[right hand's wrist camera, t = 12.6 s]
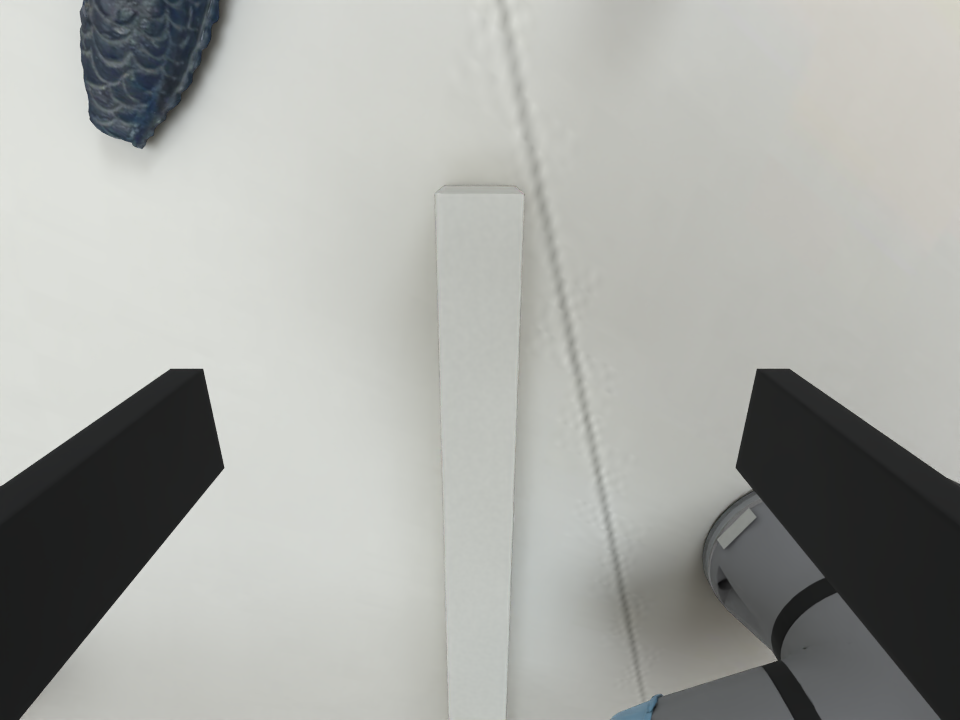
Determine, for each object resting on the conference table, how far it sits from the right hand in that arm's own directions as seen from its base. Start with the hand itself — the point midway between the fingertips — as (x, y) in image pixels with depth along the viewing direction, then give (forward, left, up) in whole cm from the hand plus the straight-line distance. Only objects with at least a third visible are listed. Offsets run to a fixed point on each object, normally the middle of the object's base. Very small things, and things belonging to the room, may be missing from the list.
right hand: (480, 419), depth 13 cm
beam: (-13, +22, -26) cm, 37 cm away
